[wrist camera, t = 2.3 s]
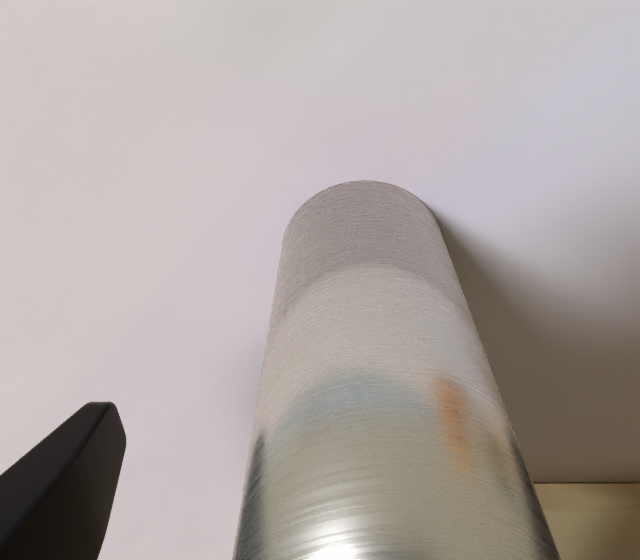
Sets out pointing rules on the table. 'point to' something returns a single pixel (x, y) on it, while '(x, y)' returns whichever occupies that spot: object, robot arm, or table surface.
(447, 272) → the peg
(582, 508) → the socket holder
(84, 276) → the table surface
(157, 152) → the table surface
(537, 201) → the table surface
